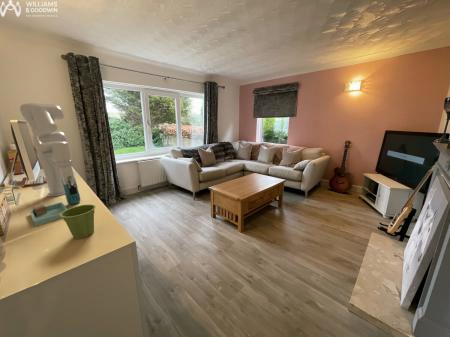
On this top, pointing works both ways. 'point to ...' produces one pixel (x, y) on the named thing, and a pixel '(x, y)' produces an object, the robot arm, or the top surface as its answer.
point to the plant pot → (80, 220)
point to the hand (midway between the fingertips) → (71, 192)
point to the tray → (49, 214)
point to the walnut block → (39, 210)
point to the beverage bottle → (71, 198)
